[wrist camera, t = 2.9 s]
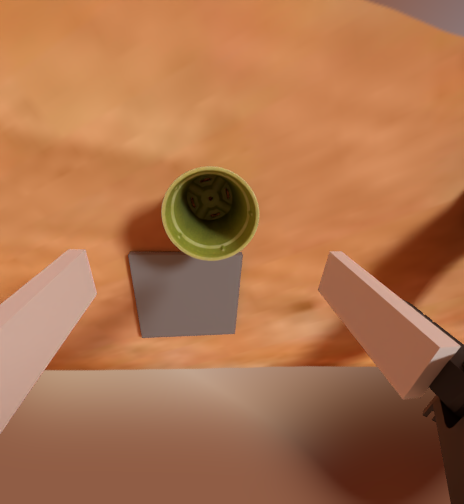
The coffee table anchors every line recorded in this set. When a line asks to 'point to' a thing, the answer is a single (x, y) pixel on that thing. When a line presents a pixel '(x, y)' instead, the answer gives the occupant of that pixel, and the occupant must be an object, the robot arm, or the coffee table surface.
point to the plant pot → (198, 218)
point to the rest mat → (185, 293)
